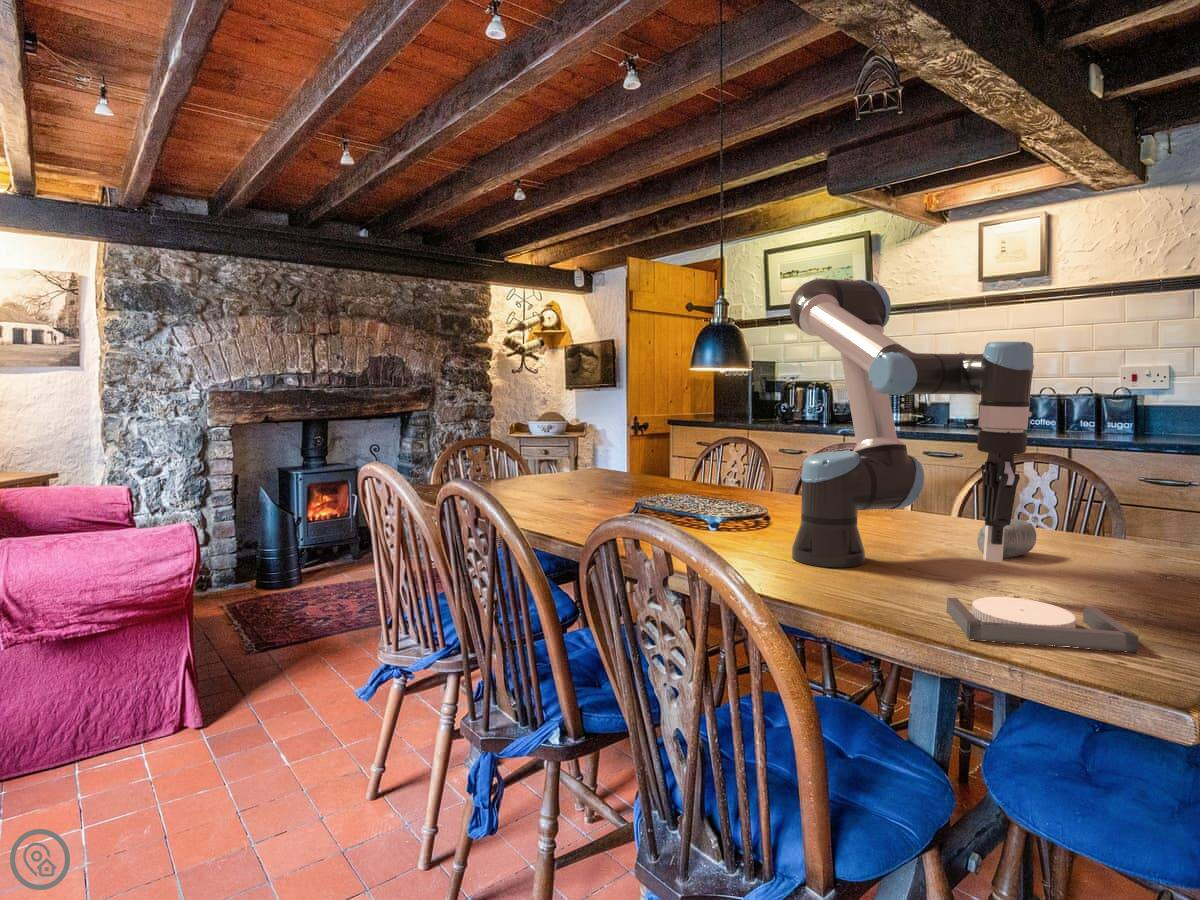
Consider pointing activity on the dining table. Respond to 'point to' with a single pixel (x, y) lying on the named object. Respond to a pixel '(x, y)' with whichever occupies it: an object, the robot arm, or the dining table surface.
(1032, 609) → the plastic lid
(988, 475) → the robot arm
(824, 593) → the dining table surface
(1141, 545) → the dining table surface
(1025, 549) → the grey yarn skein
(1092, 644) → the bracket
